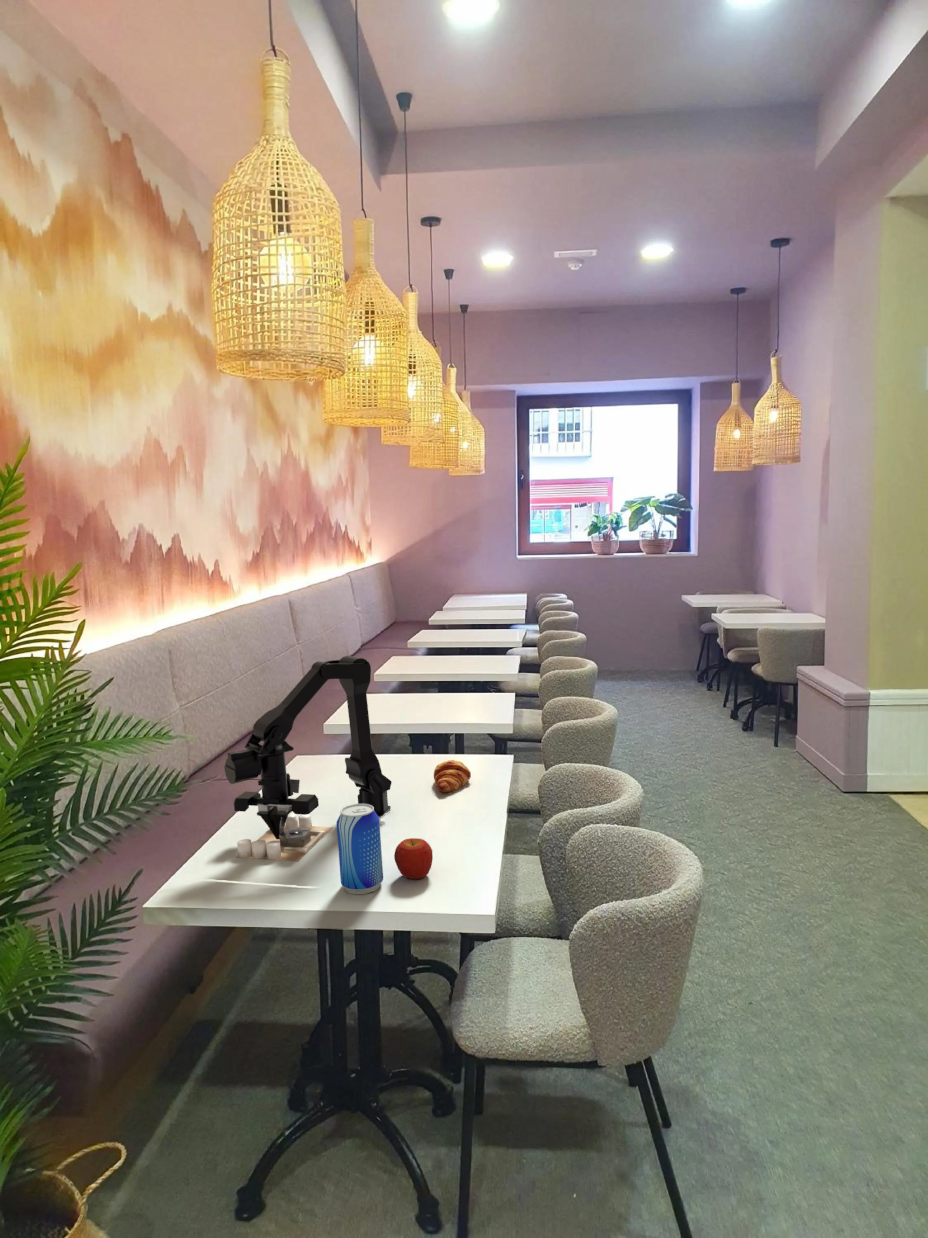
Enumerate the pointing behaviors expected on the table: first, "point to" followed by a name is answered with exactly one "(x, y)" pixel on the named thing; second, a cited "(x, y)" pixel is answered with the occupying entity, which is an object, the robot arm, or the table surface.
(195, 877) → the table surface
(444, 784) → the croissant
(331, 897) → the table surface
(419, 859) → the apple
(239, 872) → the table surface
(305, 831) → the nut
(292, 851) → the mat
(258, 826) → the table surface
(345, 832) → the beer can
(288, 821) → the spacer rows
